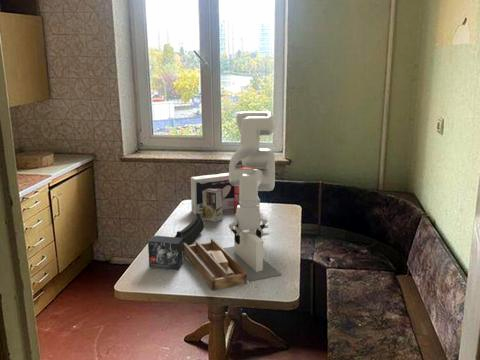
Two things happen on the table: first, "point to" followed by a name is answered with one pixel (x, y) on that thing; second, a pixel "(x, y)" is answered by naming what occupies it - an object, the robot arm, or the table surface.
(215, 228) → the table surface
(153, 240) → the small box
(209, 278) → the rack
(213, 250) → the offcut long
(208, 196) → the coffee box
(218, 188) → the packaging
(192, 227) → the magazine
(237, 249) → the cream rectangular panel
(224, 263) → the offcut short
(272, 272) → the mat
